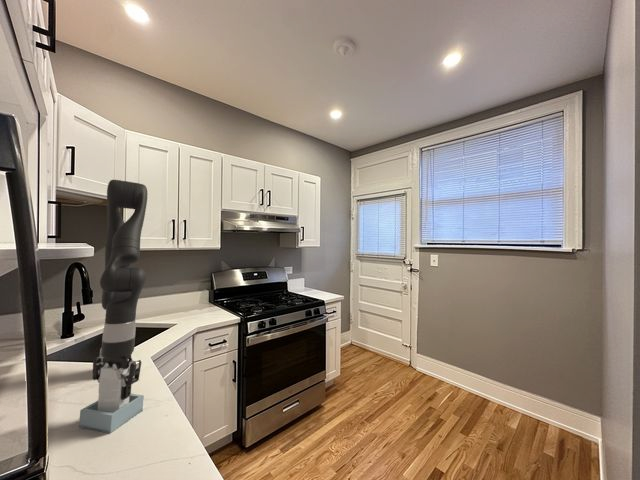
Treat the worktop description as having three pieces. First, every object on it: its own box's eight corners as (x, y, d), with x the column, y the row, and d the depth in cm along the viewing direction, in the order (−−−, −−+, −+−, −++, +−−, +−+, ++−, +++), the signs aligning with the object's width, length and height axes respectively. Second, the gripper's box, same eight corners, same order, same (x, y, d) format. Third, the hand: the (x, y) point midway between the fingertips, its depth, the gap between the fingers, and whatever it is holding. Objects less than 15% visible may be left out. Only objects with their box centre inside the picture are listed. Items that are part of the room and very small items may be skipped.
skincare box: (129, 404, 76) (132, 362, 77) (118, 413, 72) (122, 368, 73) (108, 404, 76) (111, 361, 77) (96, 412, 72) (99, 368, 73)
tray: (78, 427, 70) (80, 409, 70) (114, 406, 80) (115, 391, 80) (110, 433, 68) (111, 415, 68) (142, 410, 78) (143, 395, 78)
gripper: (151, 335, 78) (147, 393, 77) (110, 331, 80) (105, 387, 79) (129, 343, 70) (123, 407, 69) (84, 338, 73) (79, 400, 72)
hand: (114, 396), depth 74 cm, fingers closed on skincare box, 6 cm apart
